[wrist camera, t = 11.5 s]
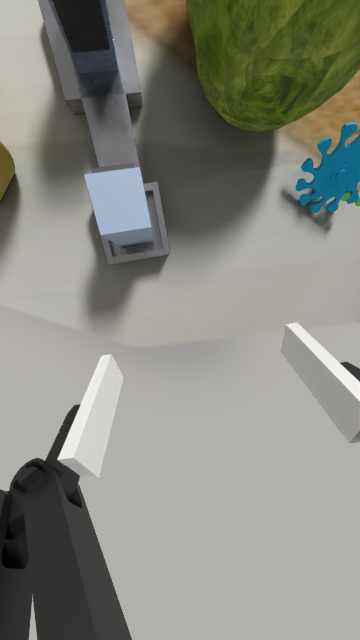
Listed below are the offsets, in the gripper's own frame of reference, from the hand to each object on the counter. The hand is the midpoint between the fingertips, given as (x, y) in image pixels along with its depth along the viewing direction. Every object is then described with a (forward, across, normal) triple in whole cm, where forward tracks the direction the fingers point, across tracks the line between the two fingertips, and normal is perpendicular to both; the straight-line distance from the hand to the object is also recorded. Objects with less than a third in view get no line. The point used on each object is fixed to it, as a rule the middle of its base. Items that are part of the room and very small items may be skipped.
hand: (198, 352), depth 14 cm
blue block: (+18, -6, +8) cm, 20 cm away
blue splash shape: (+24, +23, +8) cm, 34 cm away
